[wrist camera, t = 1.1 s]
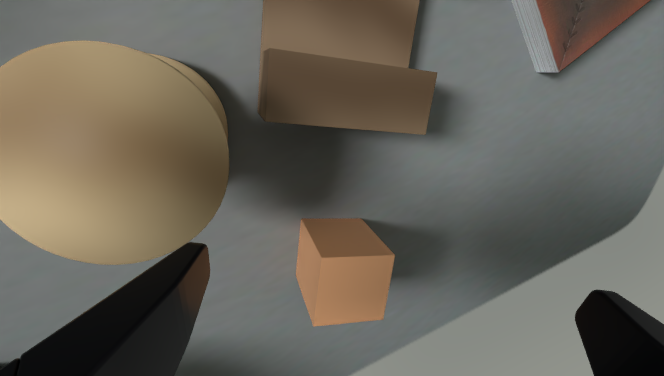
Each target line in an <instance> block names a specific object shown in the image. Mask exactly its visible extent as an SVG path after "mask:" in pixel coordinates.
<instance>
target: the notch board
mask: <svg viewBox="0 0 664 376" xmlns="http://www.w3.org/2000/svg"><path fill="white" fill-rule="evenodd" d="M419 1H420V0H263V17H262V36H261V55H260V74H259V93H258V113H259V114H260V116H261V117H262V118H263V119H264V121H265V122H276V123H288V124H300V125H313V126H325V127H337V128H349V129H361V130H374V131H386V132H398V133H410V134H422V135H426V129H427V124H428V119H429V114H430V109H431V104H432V98H433V93H434V88H435V83H436V78H437V72H430V71H423V70H417V69H410V68H408V66H409V60H410V54H411V48H412V42H413V36H414V31H415V25H416V19H417V13H418V7H419Z"/></svg>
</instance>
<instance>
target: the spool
mask: <svg viewBox="0 0 664 376" xmlns="http://www.w3.org/2000/svg"><path fill="white" fill-rule="evenodd" d="M227 141H228V125H227V119H226V114H225V111H224V108H223V106H222V103H221V101H220V99H219V97H218V96H217V94H216V93H215V91H214V90H213V88H212V87H211V86H210V85H209V83H208V82H207V81H206V80H205V79H204V78H203V77H202V76H200V75H199V74H198V73H196V72H195V71H194V70H193V69H191V68H189V67H188V66H186V65H184V64H182V63H180V62H178V61H176V60H173V59H170V58H167V57H163V56H159V55H154V54H148V53H145V52H141V51H138V50H135V49H132V48H129V47H125V46H121V45H116V44H110V43H105V42H96V41H66V42H59V43H54V44H48V45H44V46H41V47H38V48H35V49H32V50H29V51H27V52H25V53H23V54H21V55H19V56H17V57H15V58H13V59H11V60H10V61H8V62H7V63H6V64H4V65H3V66H1V67H0V220H2V221H3V222H4V223H5V224H6V225H7V226H8V227H9V228H10V229H12V230H13V231H14V232H16V233H17V234H18V235H20V236H21V237H22V238H24V239H26V240H27V241H29V242H31V243H32V244H34V245H36V246H38V247H40V248H42V249H44V250H46V251H49V252H51V253H53V254H56V255H59V256H62V257H65V258H68V259H72V260H76V261H81V262H86V263H94V264H105V265H120V264H131V263H137V262H142V261H147V260H151V259H154V258H157V257H160V256H163V255H165V254H168V253H170V252H172V251H174V250H176V249H178V248H180V247H181V246H183V245H184V244H186V243H188V242H189V241H190V240H192V239H193V238H194V237H196V236H197V235H198V234H199V233H200V232H201V231H202V230H203V229H204V228H205V227H206V226H207V225H208V223H209V222H210V221H211V219H212V218H213V217H214V215H215V214H216V212H217V210H218V208H219V207H220V205H221V202H222V200H223V197H224V195H225V191H226V187H227V183H228V177H229V149H228V143H227Z"/></svg>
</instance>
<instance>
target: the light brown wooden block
mask: <svg viewBox="0 0 664 376" xmlns="http://www.w3.org/2000/svg"><path fill="white" fill-rule="evenodd" d="M394 258H395V254H394V253H393V252H392V251H391V250H390V249H389V248H388V247H387V246H386V245H385V244H384V243H383V242H382V240H381V239H380V238H379V237H378V236H377V235H376V234H375V233H374V232H373V231H372V230H371V229H370V228H369V226H368V225H367V224H366V223H365V222H364V221H363V220H362V219H301V227H300V238H299V248H298V258H297V269H296V277H297V280H298V283H299V286H300V289H301V292H302V295H303V298H304V300H305V303H306V306H307V309H308V312H309V315H310V318H311V321H312V324H313V326H323V325H333V324H343V323H353V322H363V321H373V320H383V317H384V312H385V307H386V301H387V296H388V290H389V285H390V280H391V274H392V269H393V264H394Z"/></svg>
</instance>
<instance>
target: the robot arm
mask: <svg viewBox="0 0 664 376" xmlns="http://www.w3.org/2000/svg"><path fill="white" fill-rule="evenodd" d="M209 277H210V263H209V254H208V248H207V245H205V244H202V243H193V242H189V243H186V244H184V245H183V246H181V247H180V248H179V249H177V250H176V251H174V252H173V253H171V254H170V255H168V256H167V257H165V258H164V259H162V260H161V261H159V262H158V263H156V264H155V265H153V266H152V267H151V268H149V269H148V270H146V271H145V272H143V273H142V274H140V275H139V276H137V277H136V278H134V279H133V280H131V281H130V282H128V283H127V284H125V285H124V286H122V287H121V288H120V289H118V290H117V291H115V292H114V293H112V294H111V295H109V296H108V297H106V298H105V299H103V300H102V301H100V302H99V303H97V304H96V305H94V306H93V307H91V308H90V309H89V310H87V311H86V312H84V313H83V314H81V315H80V316H78V317H77V318H75V319H74V320H72V321H71V322H69V323H68V324H66V325H65V326H63V327H62V328H60V329H59V330H58V331H56V332H55V333H53V334H52V335H50V336H49V337H47V338H46V339H44V340H43V341H41V342H40V343H38V344H37V345H35V346H34V347H32V348H31V349H29V350H28V351H27V352H25V353H24V354H22V355H21V357H20V359H19V358H17V359H14V360H13V361H11V362H10V363H9V364H7V365H6V366H4V367H3V368H1V369H0V376H174V374H175V372H176V370H177V368H178V365H179V363H180V361H181V359H182V356H183V354H184V352H185V349H186V347H187V345H188V342H189V339H190V336H191V333H192V330H193V327H194V324H195V321H196V318H197V315H198V312H199V309H200V306H201V302H202V299H203V296H204V293H205V290H206V287H207V284H208V281H209ZM575 321H576V325H577V328H578V331H579V333H580V336H581V339H582V342H583V345H584V348H585V350H586V354H587V357H588V359H589V362H590V365H591V368H592V371H593V374H594V376H664V324H662V323H661V322H659V321H658V320H656V319H655V318H653V317H652V316H650V315H649V314H647V313H646V312H644V311H643V310H641V309H640V308H638V307H637V306H635V305H634V304H632V303H631V302H629V301H628V300H626V299H625V298H623V297H622V296H620V295H619V294H617V293H615V292H612V291H604V290H594V291H592V292H591V293H590V294H589V295H588V297H587V298H586V299H585V300H584V302H583V303H582V304H581V306H580V307H579V308H578V310H577V311H576V314H575Z"/></svg>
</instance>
